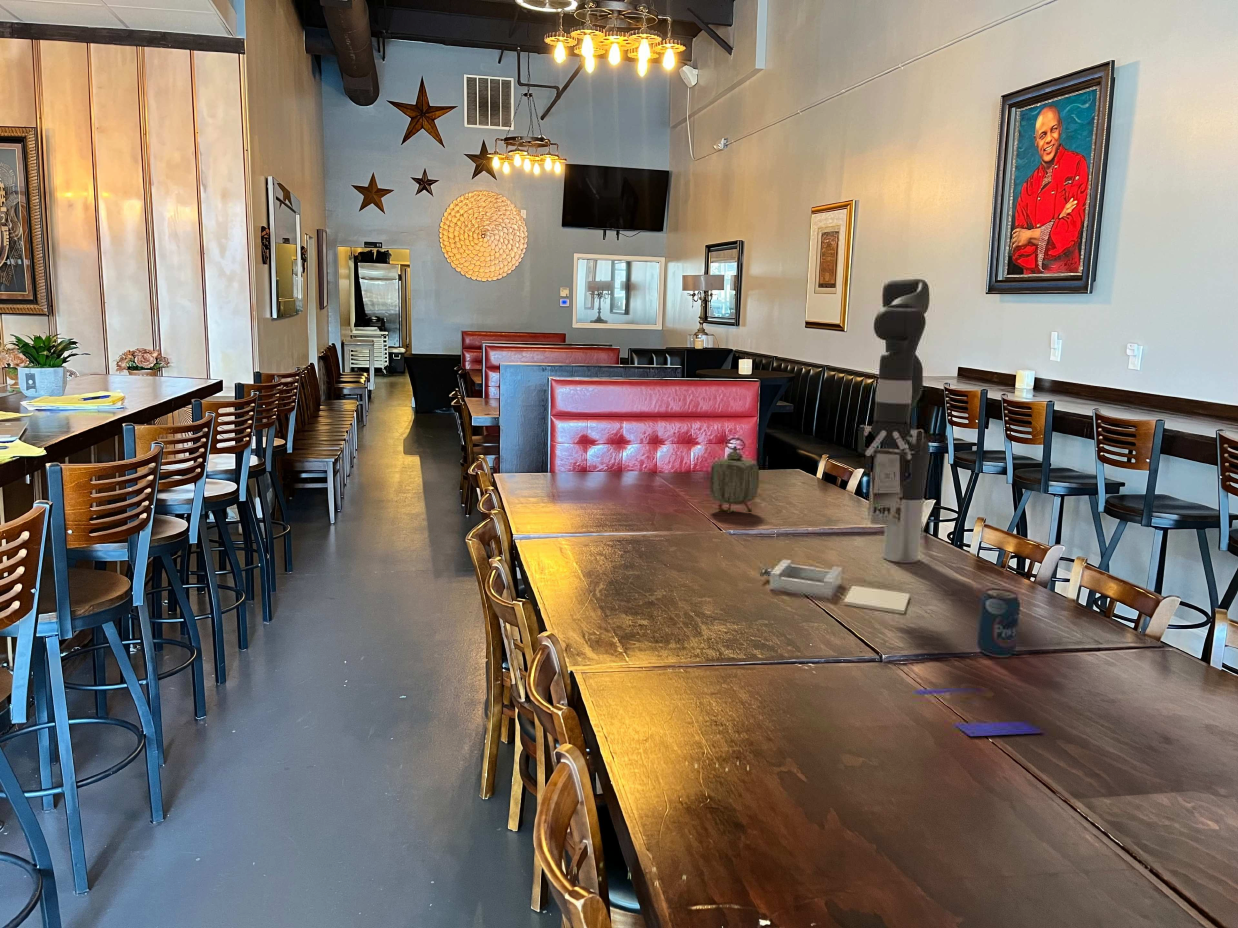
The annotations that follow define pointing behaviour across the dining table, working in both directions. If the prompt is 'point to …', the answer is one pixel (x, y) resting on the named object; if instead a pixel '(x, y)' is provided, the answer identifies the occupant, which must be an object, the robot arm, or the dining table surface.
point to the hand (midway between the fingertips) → (887, 473)
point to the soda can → (998, 622)
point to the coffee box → (886, 487)
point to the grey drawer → (804, 579)
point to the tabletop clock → (734, 479)
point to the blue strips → (987, 728)
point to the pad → (877, 599)
